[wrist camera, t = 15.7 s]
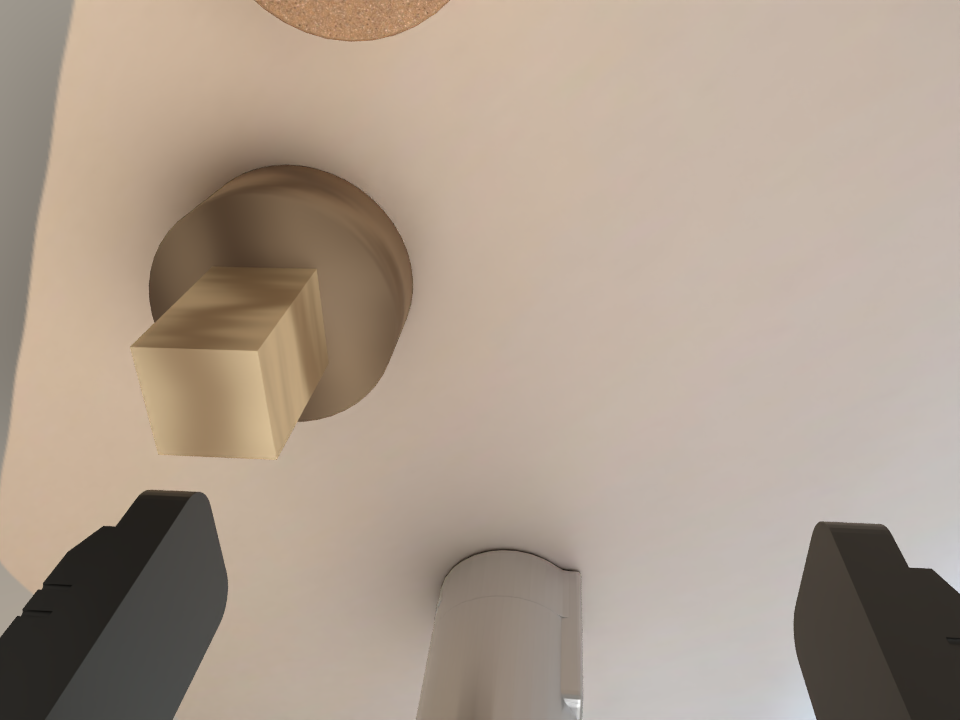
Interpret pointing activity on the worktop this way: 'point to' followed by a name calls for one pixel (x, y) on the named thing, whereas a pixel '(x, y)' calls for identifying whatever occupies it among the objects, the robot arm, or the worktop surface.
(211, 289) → the oak block
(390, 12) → the lidded jar
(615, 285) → the worktop surface
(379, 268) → the walnut plinth
